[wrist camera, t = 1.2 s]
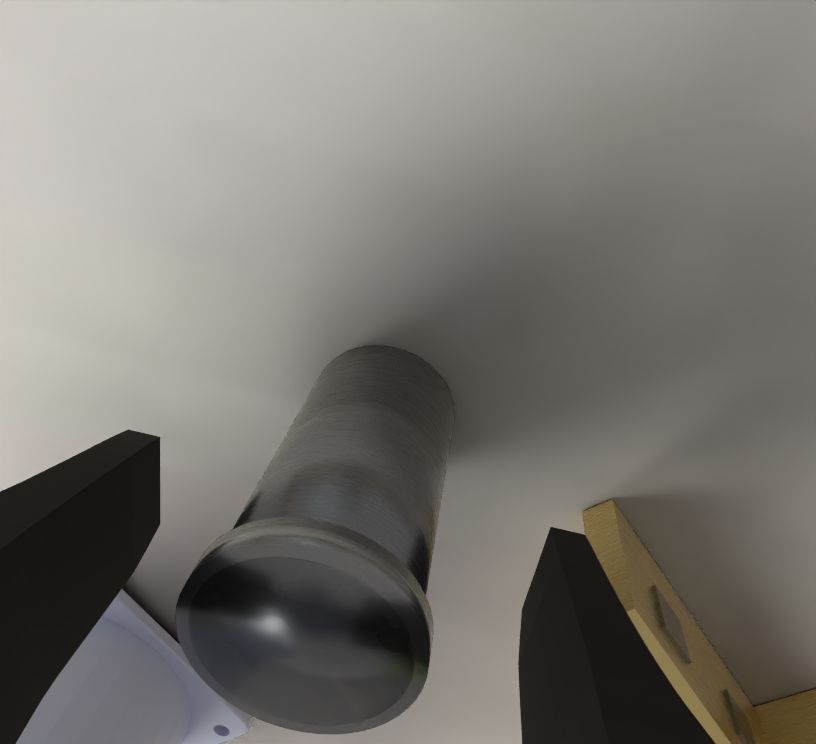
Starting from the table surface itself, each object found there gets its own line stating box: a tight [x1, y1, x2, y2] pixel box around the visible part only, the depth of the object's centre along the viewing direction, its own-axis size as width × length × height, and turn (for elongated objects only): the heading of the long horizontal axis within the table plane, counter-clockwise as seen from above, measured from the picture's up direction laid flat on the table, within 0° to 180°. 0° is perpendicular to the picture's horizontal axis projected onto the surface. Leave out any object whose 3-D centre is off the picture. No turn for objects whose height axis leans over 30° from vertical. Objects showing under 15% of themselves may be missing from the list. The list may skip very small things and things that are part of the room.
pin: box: [175, 346, 454, 734], centre depth 13 cm, size 4×4×7 cm
